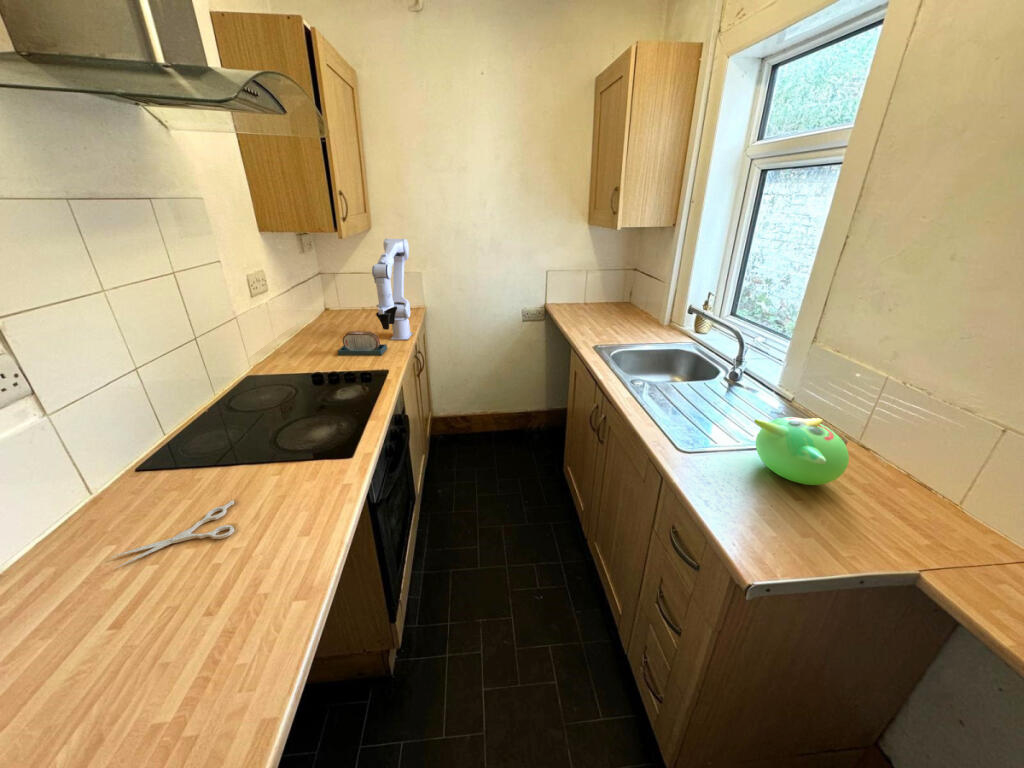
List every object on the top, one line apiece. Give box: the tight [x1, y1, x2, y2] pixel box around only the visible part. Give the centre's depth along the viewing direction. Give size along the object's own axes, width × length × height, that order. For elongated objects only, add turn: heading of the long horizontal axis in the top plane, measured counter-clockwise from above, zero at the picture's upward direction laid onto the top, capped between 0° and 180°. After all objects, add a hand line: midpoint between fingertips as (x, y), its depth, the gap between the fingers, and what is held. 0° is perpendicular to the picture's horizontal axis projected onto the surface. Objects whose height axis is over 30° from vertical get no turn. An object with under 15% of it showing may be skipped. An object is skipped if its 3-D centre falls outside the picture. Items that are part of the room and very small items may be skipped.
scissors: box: [111, 499, 235, 569], centre depth 80 cm, size 11×1×20 cm
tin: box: [342, 330, 381, 351], centre depth 173 cm, size 15×3×8 cm, turn 89°
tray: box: [337, 343, 388, 357], centre depth 175 cm, size 8×18×2 cm, turn 89°
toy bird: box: [753, 416, 850, 486], centre depth 95 cm, size 18×17×15 cm
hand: (389, 326), depth 175 cm, fingers open, 7 cm apart
